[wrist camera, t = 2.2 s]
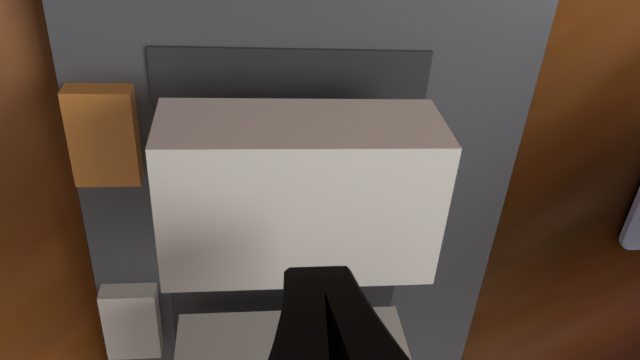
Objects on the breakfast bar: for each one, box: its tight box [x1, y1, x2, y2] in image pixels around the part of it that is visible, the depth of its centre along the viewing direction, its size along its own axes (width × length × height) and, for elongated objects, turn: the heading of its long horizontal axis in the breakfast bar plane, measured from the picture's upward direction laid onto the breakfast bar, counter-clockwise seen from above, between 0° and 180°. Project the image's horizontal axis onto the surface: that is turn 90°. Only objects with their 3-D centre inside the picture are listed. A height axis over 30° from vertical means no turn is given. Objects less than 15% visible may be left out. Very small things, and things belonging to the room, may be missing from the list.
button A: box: [145, 98, 462, 293], centre depth 16 cm, size 8×4×3 cm, turn 87°
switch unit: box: [42, 0, 559, 360], centre depth 24 cm, size 15×26×2 cm, turn 177°
